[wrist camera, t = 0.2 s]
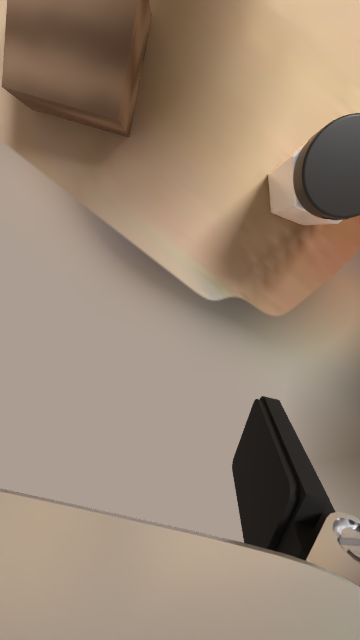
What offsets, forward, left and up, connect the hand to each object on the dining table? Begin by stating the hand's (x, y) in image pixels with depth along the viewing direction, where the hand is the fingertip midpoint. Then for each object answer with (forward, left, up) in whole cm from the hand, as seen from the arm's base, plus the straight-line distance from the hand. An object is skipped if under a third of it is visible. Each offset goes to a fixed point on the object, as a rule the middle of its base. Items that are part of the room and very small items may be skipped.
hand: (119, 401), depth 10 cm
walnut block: (-21, -16, -31) cm, 41 cm away
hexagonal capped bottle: (-14, +12, -31) cm, 37 cm away
